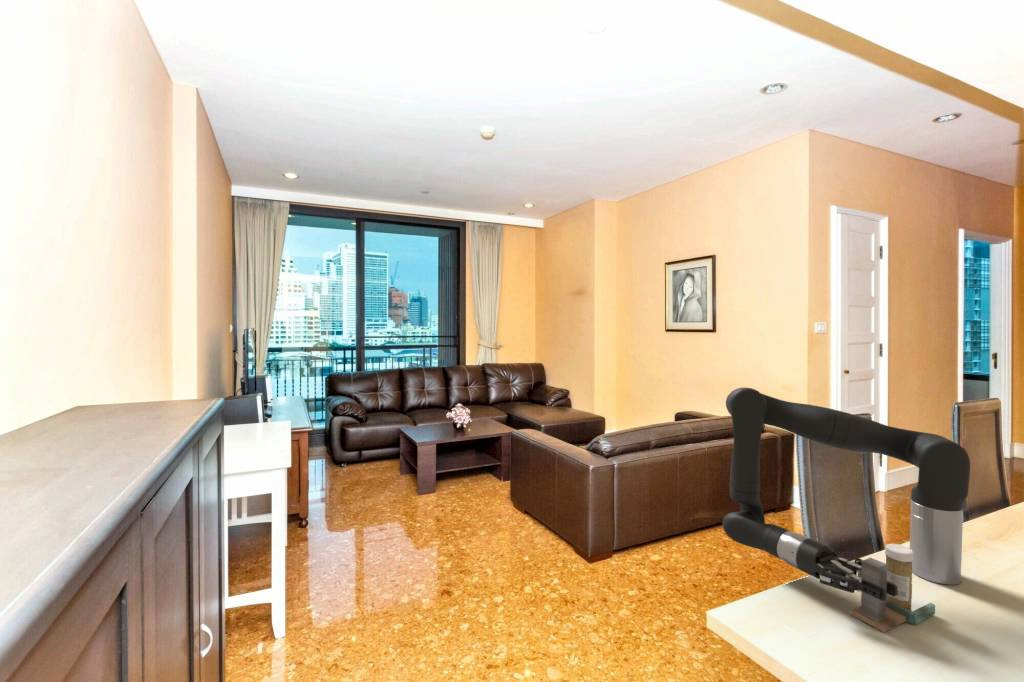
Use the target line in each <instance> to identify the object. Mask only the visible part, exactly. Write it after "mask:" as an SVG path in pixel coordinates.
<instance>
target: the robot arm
mask: <svg viewBox="0 0 1024 682" xmlns="http://www.w3.org/2000/svg"><path fill="white" fill-rule="evenodd" d="M725 406H726V407H725V408H726V410H727V411H728V413H729V415H730V416H731V420H732V428H733V447H732V448H733V449H732V455H731V460H730V461H731V463H730V470H729V471H730V472H729V473H730V474H729V497H730V499H732V501H733V502H736V503H738V504H739V507H740V511H733V512H729V513H727V514H726V515H725V516H724V517H723V519H722V522H721V523H722V529H723V531H724V533H725V534H726V535H727V537H729V539H731V540H732V541H734V542H735V543H738V544H741V545H743V546H747V547H750V548H752V549H757V550H760V551H764V552H766V553H767V554H770V555H771V556H774V557H775V558H778V559H780V560H781V561H783V562H785V563H786V564H788V565H789V566H792V567H793V568H796V569H797V570H799V571H801V572H803V573H805V574H808V575H810V576H812V577H814V578H815V579H817V580H819V583H820V584H822V585H826V586H829V587H831V588H834V589H838V590H842V591H844V592H848V593H851V594H855V591H856V592H858V593H861V592H865V593H867V594H869V595H871V596H873V597H875V598H877V599H879V600H881V601H884V600H886V599H887V594H889V595H892V596H896V595H897V586H896V585H895V584H893V583H891V582H888V581H887V592H886V590H885V589H883V588H881V587H879V586H877V585H874V584H872V583H870V582H868V581H864V580H863V579H862V561H863V560H864V559H862V558H860V557H854V560H851V561H850V560H848V559H847V558H844V557H840V556H838V555H836V553H835V551H834V549H833V548H832V547H830V546H829V545H826V544H825V543H823V542H820V541H817V540H815V539H813V538H811V537H808V536H806V535H803V534H801V533H797V532H794V531H791V530H788V529H786V528H784V527H781V526H779V525H777V524H773V523H766V519H765V514H764V509H763V505H762V501H761V499H760V492H761V491H760V480H761V473H760V471H761V470H760V469H761V468H760V467H761V466H760V465H761V463H760V462H761V461H760V460H761V459H760V455H761V453H760V450H761V440H762V434H763V433H762V432H763V426H764V425H767V426H773V427H775V428H780V429H781V430H784V431H787V432H789V433H792V434H794V435H797V436H800V437H802V438H803V439H807V440H810V441H812V442H816V443H818V444H821V445H826V446H829V447H833V448H837V449H840V450H845V451H850V452H857V453H858V452H860V453H874V454H880V455H884V456H887V457H890V458H893V459H897V460H898V461H899V460H900V461H903V462H904V463H908V464H911V465H913V466H915V467H916V468H918V479H917V485H916V486H913V487H912V488H911V491H910V521H909V522H910V523H909V549H911V550H912V551H913V561H912V574H914V575H916V576H917V577H920V578H922V579H923V580H927V581H930V582H933V583H937V584H943V585H951V586H952V585H953V586H954V585H959V584H961V581H962V580H961V579H962V561H963V559H962V555H963V528H964V527H963V524H964V522H963V519H964V518H963V516H964V502H965V501H966V500H967V498H968V496H969V487H970V486H969V485H970V476H971V475H970V474H971V460H970V457H969V453H968V452H967V450H966V449H965V448H964V447H963V446H961V445H960V444H959V443H956V442H955V441H953V440H951V439H949V438H947V437H944V436H942V435H939V434H935V433H930V432H929V433H928V432H923V431H918V430H909V429H905V428H898V427H894V426H889V425H886V424H883V423H880V422H878V421H875V420H872V419H868V418H866V417H863V416H859V415H855V414H852V413H849V412H845V411H841V410H837V409H834V408H828V407H824V406H820V405H819V406H818V405H813V404H808V403H807V404H806V403H800V402H792V401H787V400H782V399H779V398H776V397H773V396H770V395H767V394H764V393H761V392H760V391H758V390H757V389H754V388H751V387H738V388H736V389H733V390H732V391H731V392H730V393H729V394H727V396H726V400H725Z"/></svg>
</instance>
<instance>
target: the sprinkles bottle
mask: <svg viewBox="0 0 1024 682" xmlns="http://www.w3.org/2000/svg"><path fill="white" fill-rule="evenodd" d="M884 554H885V564H887V581H888V582H891V583H893V584H895V585H896V586H897V595H896V596H892V595H889V594H887V599H886V600H888V601H890V602H892V603H894V604H896V605H898V606H901V607H903V608H905V609H907V610H909V611H911V612H912V611H913V610H912V599H913V584H912V583H913V572H912V561H913V551H912V550H911V549H910V547H907V546H905V545H902V544H896V543H888V544H886V545H885V549H884Z"/></svg>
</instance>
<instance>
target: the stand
mask: <svg viewBox="0 0 1024 682" xmlns="http://www.w3.org/2000/svg"><path fill="white" fill-rule="evenodd" d="M862 560H863V561H862V579H863V580H864V581H868V582H870V583H872V584H874V585H877V586H879V587H881V588H883V589H885V590H886V592H887V564H886V562H883V561H881V560H878V559H876V558H873V557H869V558H866V559H862ZM850 610H851V613H850V614H851V616H853V617H855V618H857V619H859V620H860V621H863V622H864V623H867V624H868V625H870V626H872V627H874V628H876V629H878V630H879V631H882V632H883V633H885V632H887V631H889V630H892V629H893V628H896V627H897V626H899V625H901V624H903V623H905V622H907V623H909V624H911V625H913V626H914V625H916V624H919V623H920V622H923V621H924V620H926V619H928V618H930V617H932V616H935V615H936V604H935V603H932V602H929V603H927V604H925V605H923V606H921V607H919V608H916V609H915V610H911V611H912V612H911V611H909V610H907V609H905V608H903V607H901V606H898V605H896V604H894V603H892V602H890V601H888V600H884V601H881V600H879V599H877V598H875V597H873V596H871V595H869V594H867V593H865V592H860V605H859V606H857V607H855V608H853V609H850Z"/></svg>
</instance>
